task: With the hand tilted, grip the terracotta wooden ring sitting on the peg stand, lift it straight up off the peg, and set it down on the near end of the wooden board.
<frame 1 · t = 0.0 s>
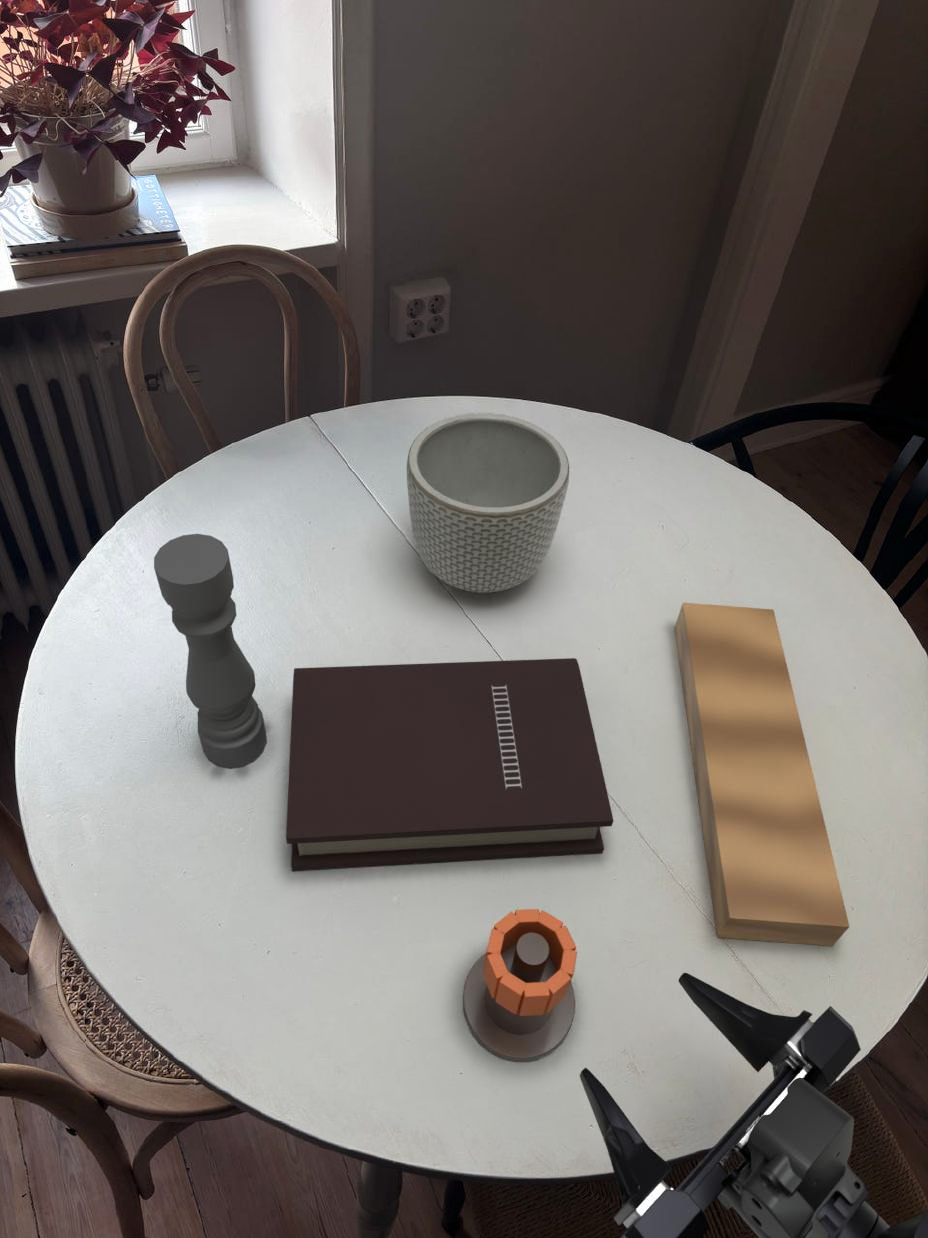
hand: (633, 1022, 57), 16 cm above the table, tool horizontal, fingers open, 9 cm apart
book: (441, 771, 88), on the table
wooden board: (743, 765, 90), on the table
planter: (479, 569, 107), on the table
peg stand: (518, 1002, 73), on the table
ring: (526, 972, 68), point 6 cm above the table, touching peg stand
candle holder: (235, 743, 89), on the table
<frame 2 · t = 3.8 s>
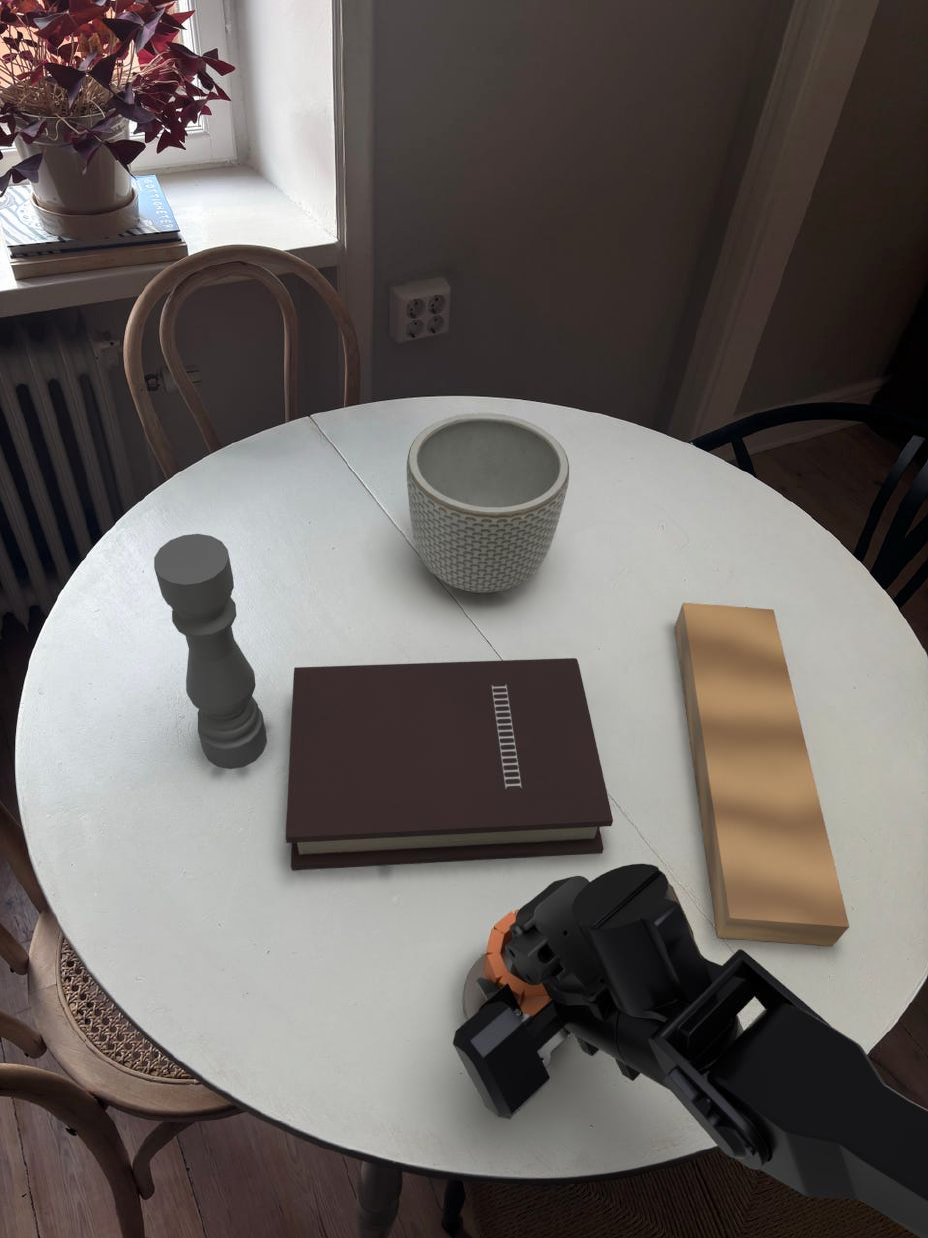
hand: (515, 954, 69), 7 cm above the table, tool tilted 45°, fingers closed on ring, 6 cm apart
ring: (526, 972, 68), point 7 cm above the table, touching gripper, peg stand
everything else where it was.
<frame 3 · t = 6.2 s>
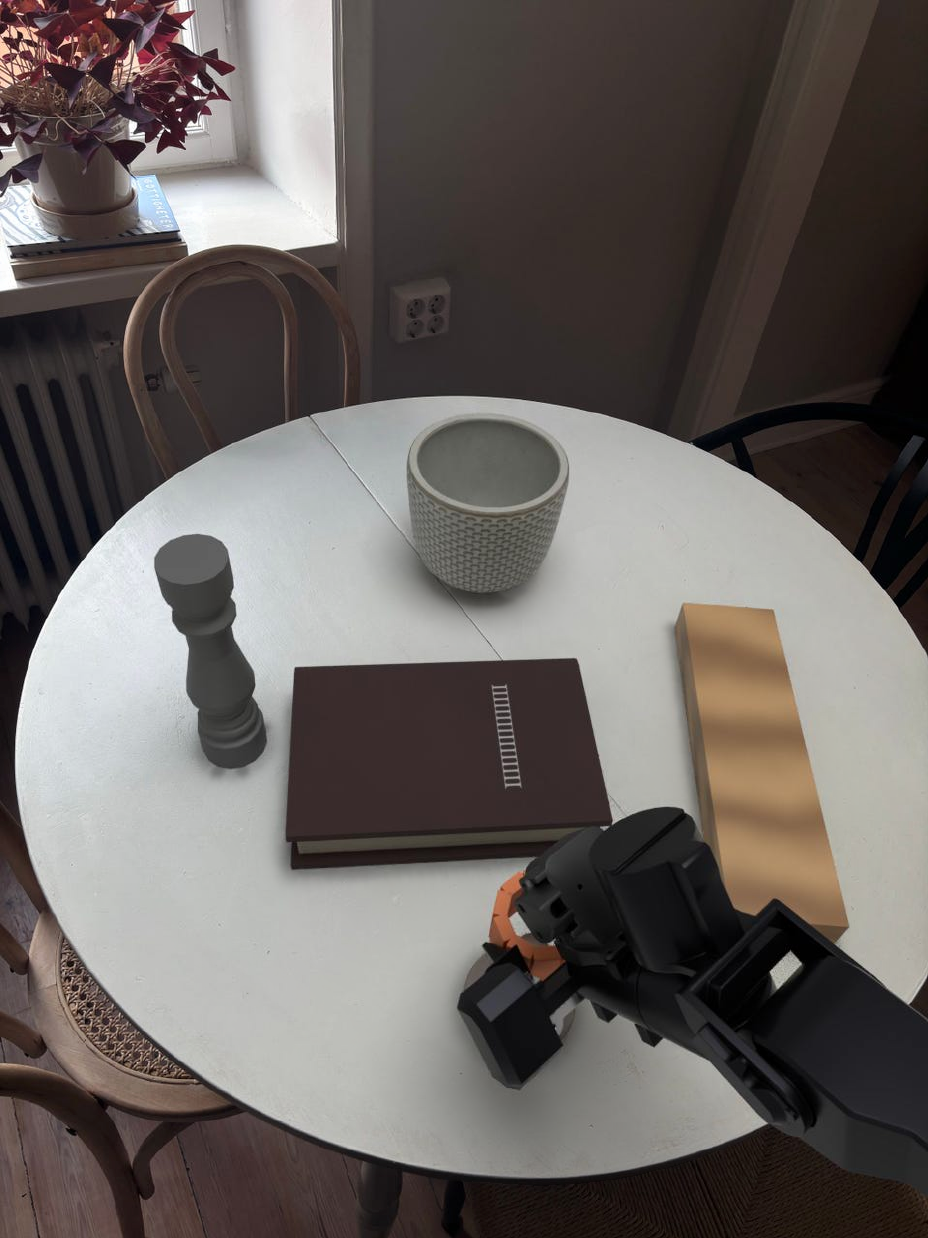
hand: (523, 919, 64), 13 cm above the table, tool tilted 45°, fingers closed on ring, 6 cm apart
ring: (535, 937, 64), point 13 cm above the table, touching gripper
everything else where it was.
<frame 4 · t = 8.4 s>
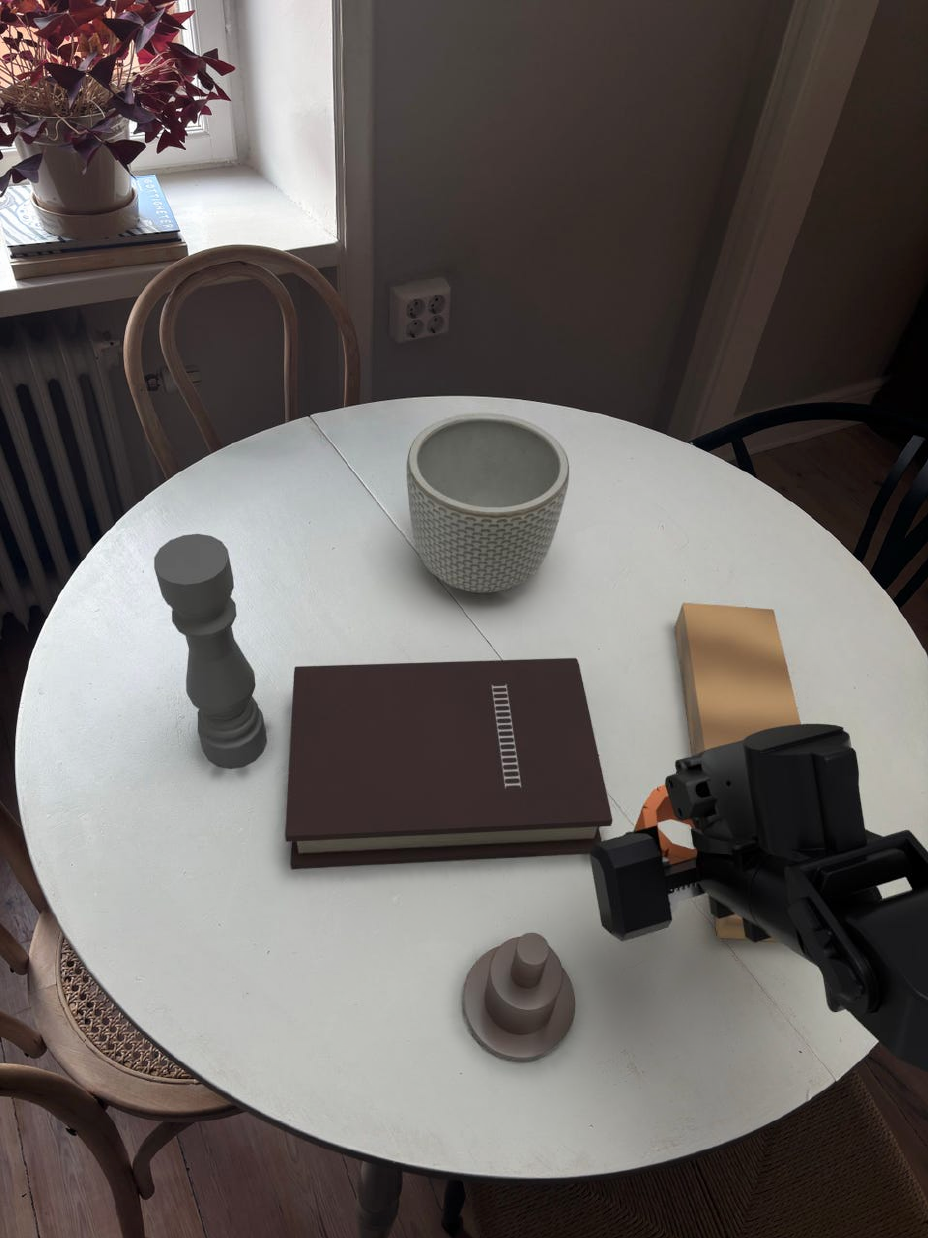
hand: (669, 827, 69), 14 cm above the table, tool tilted 45°, fingers closed on ring, 6 cm apart
ring: (675, 846, 69), point 13 cm above the table, touching gripper
everything else where it was.
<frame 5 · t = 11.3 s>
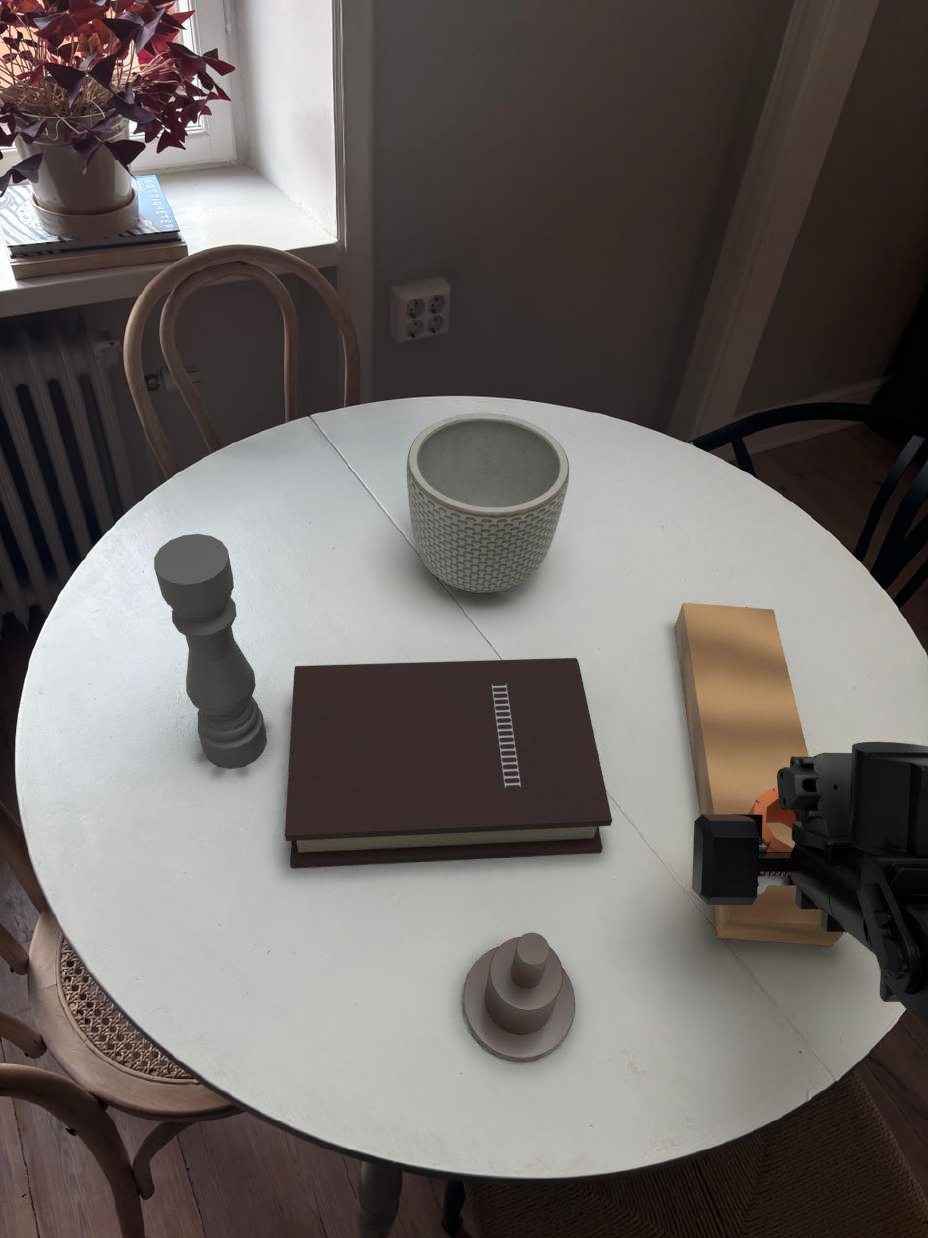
hand: (777, 828, 75), 9 cm above the table, tool tilted 45°, fingers closed on ring, 6 cm apart
ring: (779, 847, 74), point 9 cm above the table, touching gripper
everything else where it was.
when the fingers open (5 cm above the table, at t = 13.3 s): ring stays where it is, resting on wooden board.
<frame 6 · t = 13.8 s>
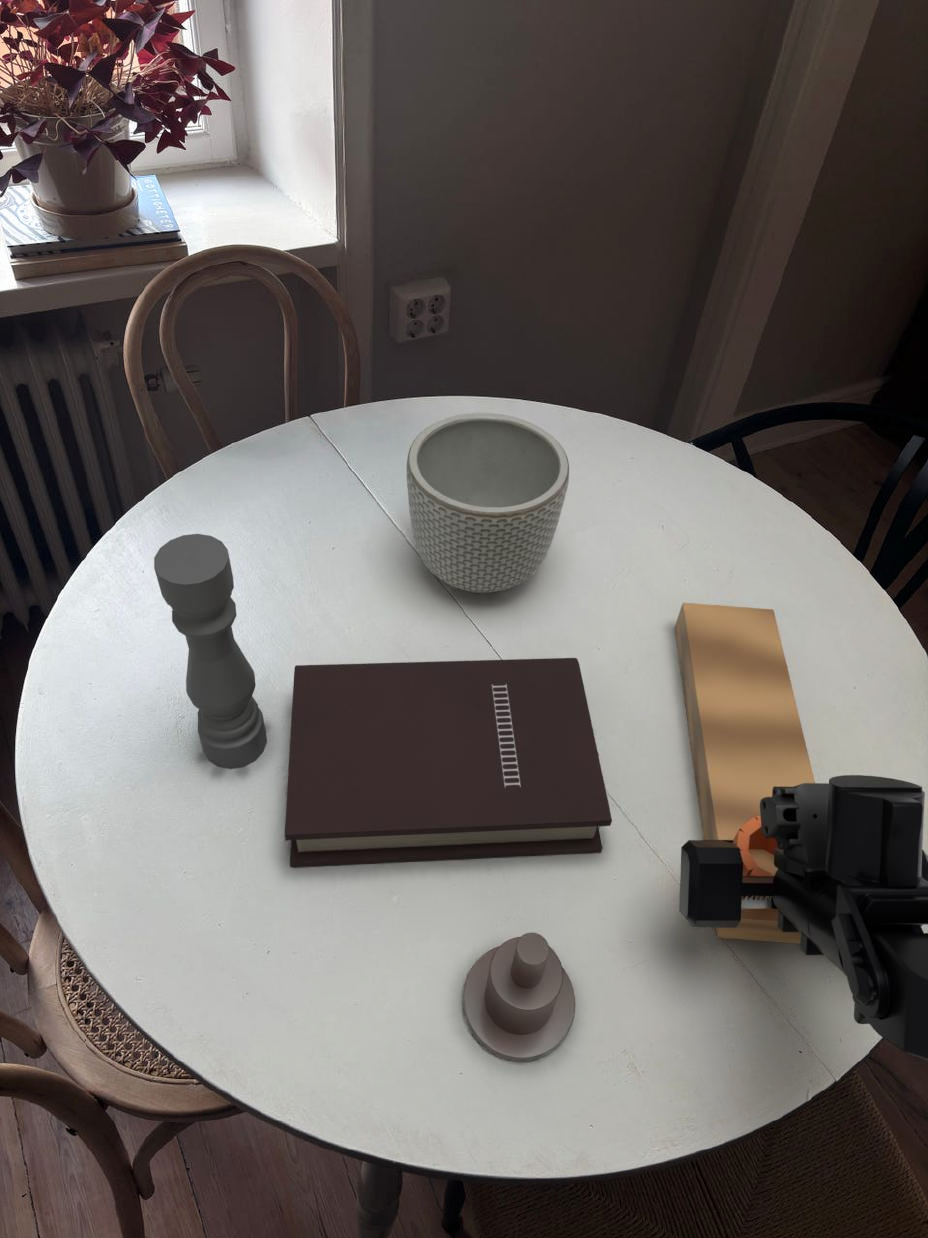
hand: (762, 851, 78), 5 cm above the table, tool tilted 45°, fingers open, 9 cm apart
ring: (761, 872, 78), point 4 cm above the table, touching wooden board
everything else where it was.
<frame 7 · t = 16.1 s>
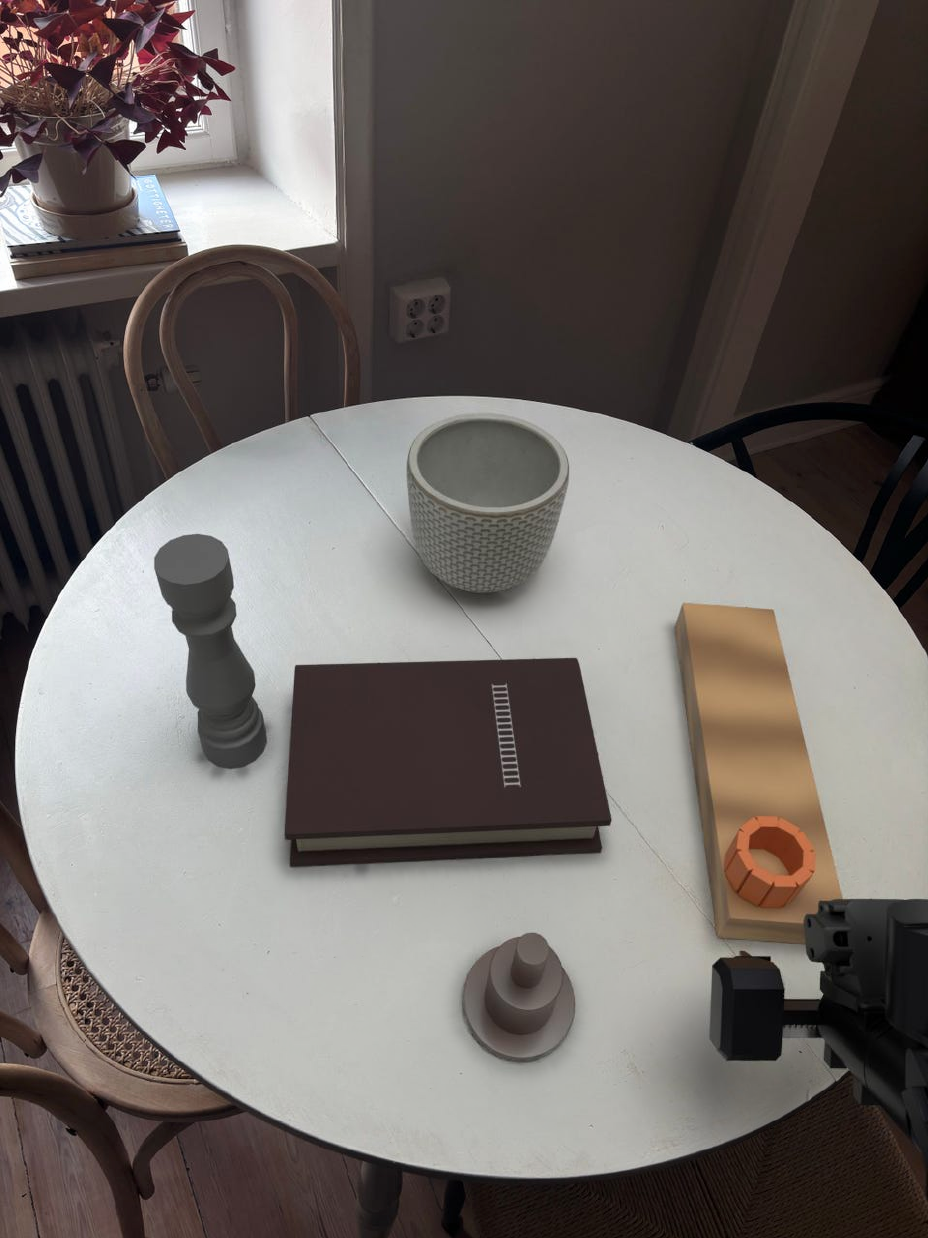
hand: (800, 957, 69), 8 cm above the table, tool tilted 45°, fingers open, 9 cm apart
nothing on the table moved.
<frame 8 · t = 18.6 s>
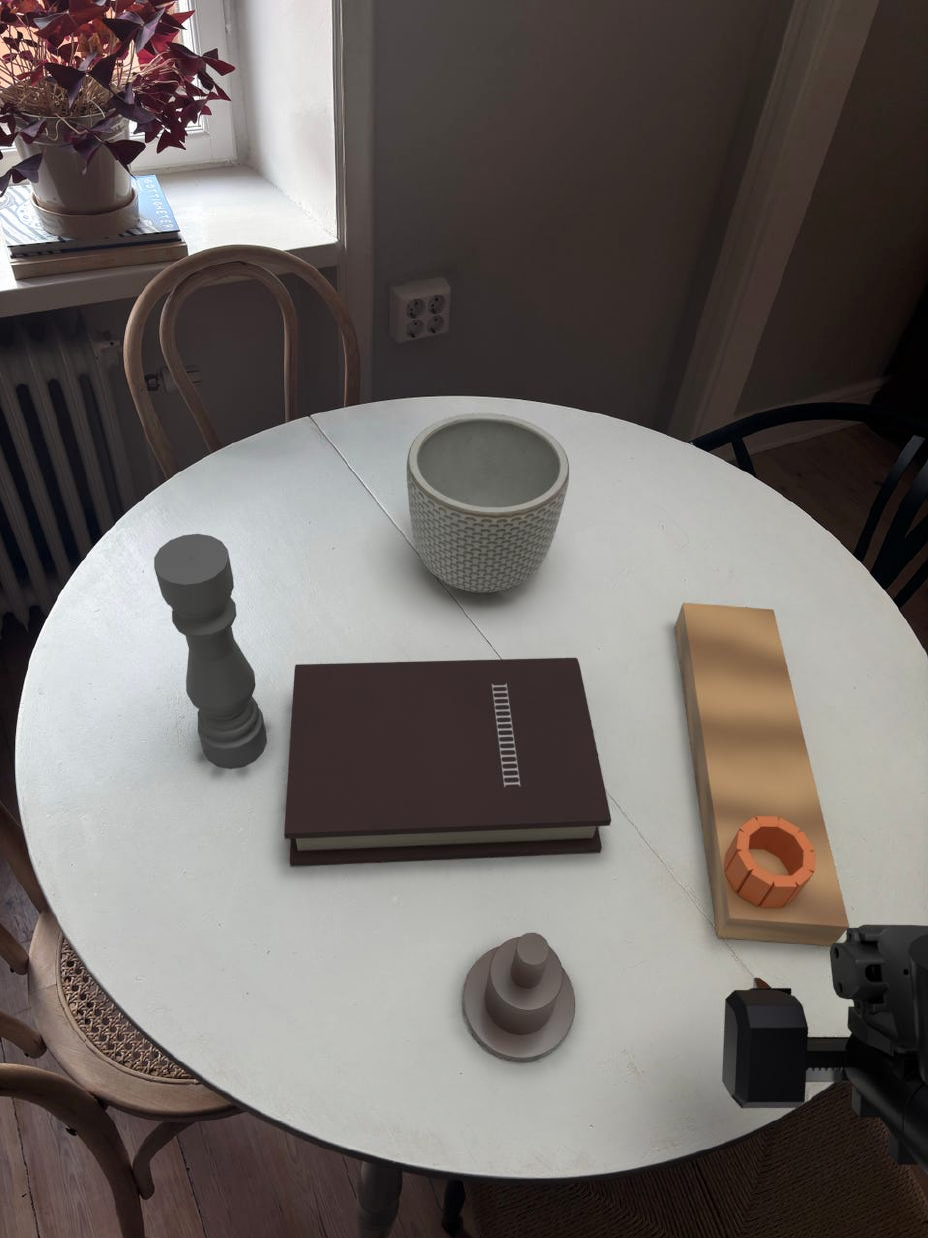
hand: (821, 984, 62), 14 cm above the table, tool tilted 45°, fingers open, 9 cm apart
nothing on the table moved.
at the end: ring 0.1 cm from the target spot on the wooden board, point 4.0 cm above the wooden board's base; ring moved 23.4 cm from its start; ring tilted 0° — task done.
